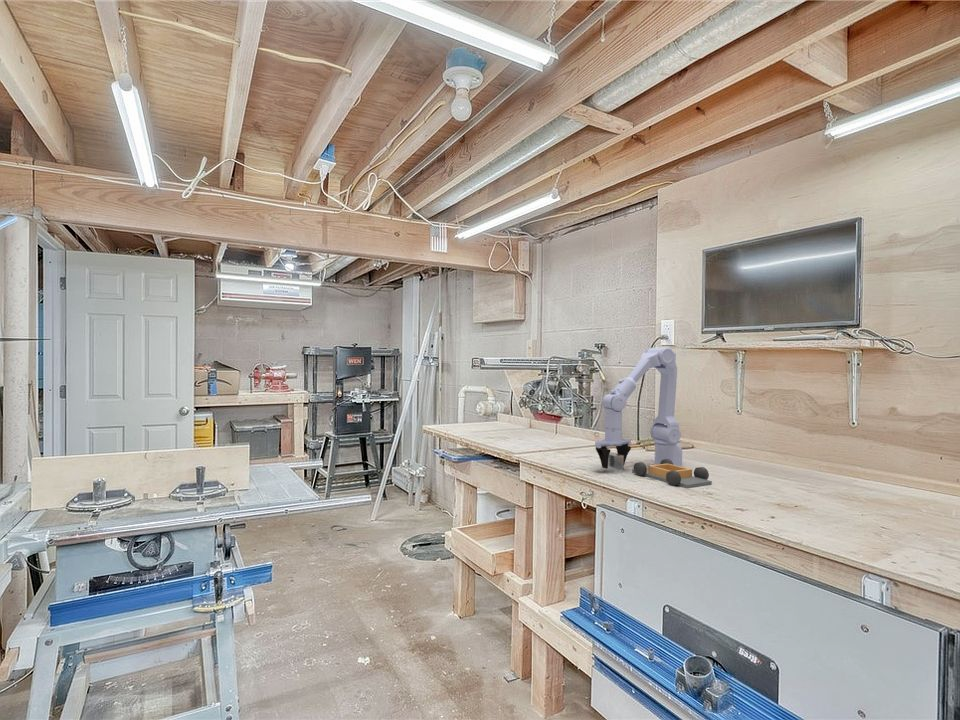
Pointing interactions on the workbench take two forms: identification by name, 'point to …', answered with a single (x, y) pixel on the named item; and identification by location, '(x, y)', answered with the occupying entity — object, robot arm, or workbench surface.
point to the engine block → (615, 463)
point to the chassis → (673, 474)
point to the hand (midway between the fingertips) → (613, 466)
